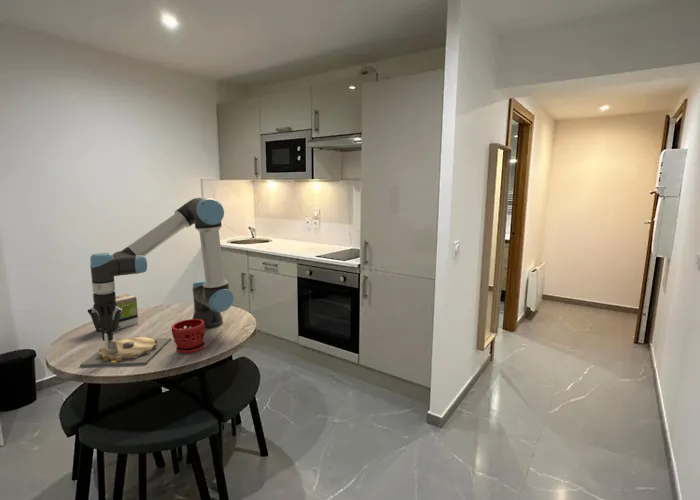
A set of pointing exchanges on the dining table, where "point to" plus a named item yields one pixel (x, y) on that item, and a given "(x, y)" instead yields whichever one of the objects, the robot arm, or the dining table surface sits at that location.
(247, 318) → the dining table surface
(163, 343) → the sprocket base
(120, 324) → the tea box
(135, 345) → the sprocket
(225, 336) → the dining table surface
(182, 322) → the plant pot
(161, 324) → the dining table surface
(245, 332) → the dining table surface
